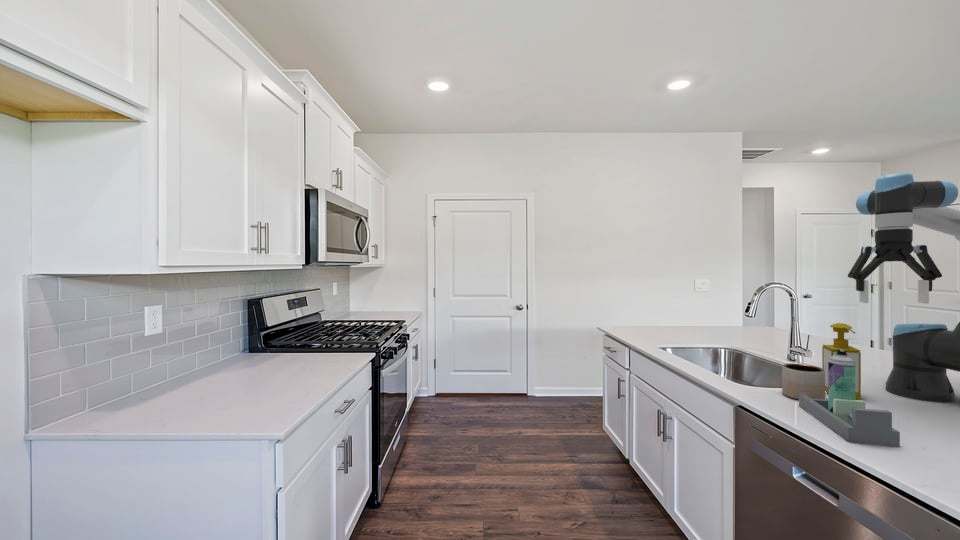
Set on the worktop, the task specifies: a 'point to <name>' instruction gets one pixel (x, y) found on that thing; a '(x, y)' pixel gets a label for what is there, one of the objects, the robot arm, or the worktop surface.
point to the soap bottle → (851, 351)
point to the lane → (855, 423)
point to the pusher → (846, 408)
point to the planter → (803, 381)
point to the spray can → (840, 378)
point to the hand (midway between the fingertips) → (893, 302)
